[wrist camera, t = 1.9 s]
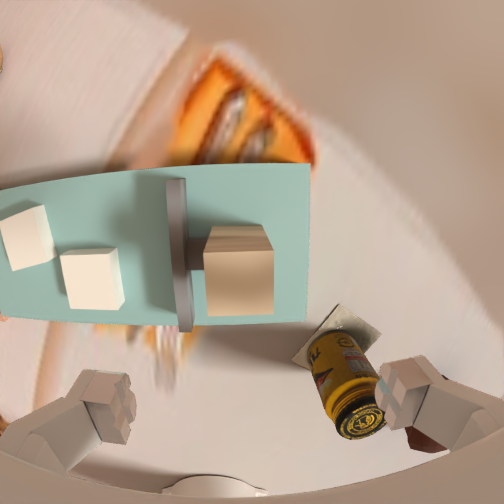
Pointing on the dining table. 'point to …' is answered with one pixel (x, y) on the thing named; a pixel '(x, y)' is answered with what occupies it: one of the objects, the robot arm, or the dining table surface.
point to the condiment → (345, 373)
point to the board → (160, 238)
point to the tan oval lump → (1, 59)
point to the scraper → (218, 264)
